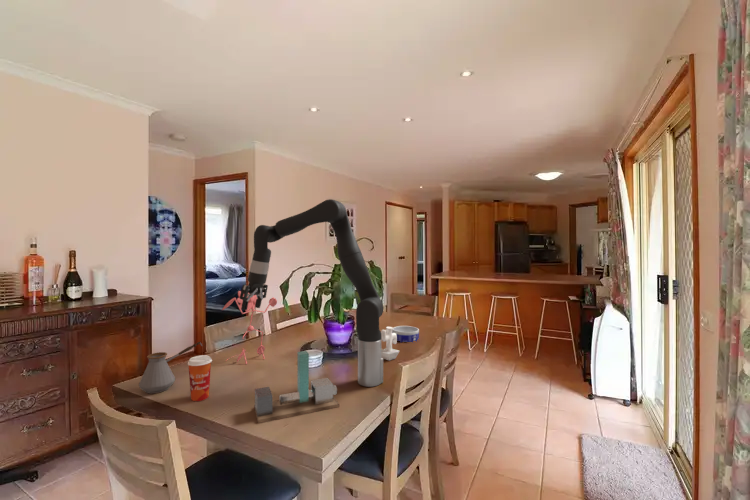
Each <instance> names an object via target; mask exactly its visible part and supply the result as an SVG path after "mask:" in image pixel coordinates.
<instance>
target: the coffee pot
mask: <svg viewBox="0 0 750 500" xmlns="http://www.w3.org/2000/svg"><path fill="white" fill-rule="evenodd" d="M197 345H200V346H201V347H203V343H201V341H198V342H196V343H193V344H192V345H190V346H188V347H186V348H184V349H183V350H181V351H179V352H178V353H176V354H174V355H173V356H171V357H169V358H167V359H166V357H167V356H168V353H167V352H163V351H161V352H159V351H158V352H153V353H150V354H148V355H147V356H146V358H147V359H148V363H147V365H146V368H145V369H144V372H143V374H142V376H141V378H140V381H139V383H138V387H139V388H140V390H142V391H143V392H145V393H147V394H157V393H162V392H164V391H167V390H169V389H170V387H172V385H173V384H174V383H175V380H176V377H175V375H174V373H173V371H172V369H171V367H170V366H169V363H168V362H170V361H172V360H174V359H175V358H177V357H178V356H181V355H182V354H185V353H186V352H189V351H190V350H192V349H193V348H196V347H197Z"/></svg>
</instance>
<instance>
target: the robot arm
mask: <svg viewBox="0 0 750 500" xmlns="http://www.w3.org/2000/svg"><path fill="white" fill-rule="evenodd" d="M349 219H350V218H349V216H348V212H347V208H346V207H345V205H344V204H343V203H342V202H341V201H338V200H335V199H326V200H324V201H321V202H320V203H318V204H316V205H315V206H313V207H311V208H309V209H307V210H305V211H303V212H300V213H297V214H294V215H292V216H289V217H286V218H284V219H280V220H278V221H277V222H276V223H275V224H274V225H271V226H269V225H265V224H260V225H259V226H257V227H256V228H255V230H254V232H253V247H254V248H253V249H254V251H253V255H252V259H251V263H250V267H249V271H248V277H247V281H248V284H247V285H246V284H242V286H241V290H240V291H241V294H240V299H242V300H243V303H242V308H241V310H242V311H243V310H244V311H245V310H247V307H248V302H249V299H250V298H251V297H253V295H256V296H257V298H258V299H256V304H255V308H256V309H260V308H261V305H262V300H264V299H266V298H267V293H268V286H269V285H268V284H266V283H267V278H268V272H269V269H270V260H271V257H272V250H271V249H270V248H269V247H268V246H269V243H274V242H277V241H280V240H281V239H283V238H285V237H287V236H290V235H294V234H297V233H299V232H301V231H303V230H305V229H306V228H308V227H310V226H313V225H317V224H321V223H330V225H331V228H332V230H333V232H334V235H335V237H336V239H335V240H336V247H337V248H336V249H337V256H338V259H339V262H340V264H341V267H342V269H343V272H344V274H345V275H346V277H347V278H348V280H349V281H350V282H351V283H352V285H353V286H354V288H355V290H356V292H357V294H358V297H359V300H360V301H359V302H358V304H357V305H356V311H355V321H356V322H355V328H356V333H357V384H358V385H360V386H363V387H368V388H370V387H371V388H372V387H377V386H379V385H381V384H383V383H384V359H383V358H382V356H381V350H382V339H381V331H382V330H380V317H382V315H383V313H384V304H383V301H382V299H381V298H380V296H379V294H378V292H377V290H376V288H375V286H374V284H373V281H372V278H371V275H370V273H369V269H368V267H367V264H366V262H365V259H364V255H363V254H362V250H361V249H360V246H359V243H358V241H357V239H356V236H355V234H354V231H353V229H352V227H351V223H350V220H349ZM248 293H249V294H248ZM243 294H244V297H243ZM247 296H248V298H247Z"/></svg>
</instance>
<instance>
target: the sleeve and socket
mask: <svg viewBox="0 0 750 500" xmlns="http://www.w3.org/2000/svg"><path fill="white" fill-rule="evenodd" d="M333 386H334V383H333V382H332V381H331V380H330V379H329V378H328V377H323V378H317V379H311V381H310V390H311V389H315V405H317V404H322V403H328V402H333V396H334V395H333ZM272 401H273V393H272V390H271V388H270V386H266V387H265V386H264V387H260V388H259V387H258V388H255V389H254V405H255V409H256V413H257V417H260V416H265V415H270V414H272ZM255 409H254V410H255ZM256 413H255V414H256ZM257 417H256V418H257Z"/></svg>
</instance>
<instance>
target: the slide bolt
mask: <svg viewBox="0 0 750 500" xmlns="http://www.w3.org/2000/svg"><path fill="white" fill-rule="evenodd" d="M309 354H310V353H309V352H308V351H307V350H304V351H303V350H302V351H297V391H293V392H289V393H283V394H279V399H278V400H280V405H282V404H287V403H292V402H298V401H299V403H302V402H307V401H309V399H314V398H315V389H311V388H310V389H309V387H310V386H309V383H310V381H309V380H310V379H309V374H310V373H309V372H310V370H309V369H310V367H309V366H310V365H309V363H310V361H309V359H310V355H309ZM335 395H338V388H337V385H335V384H333V396H335Z"/></svg>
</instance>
